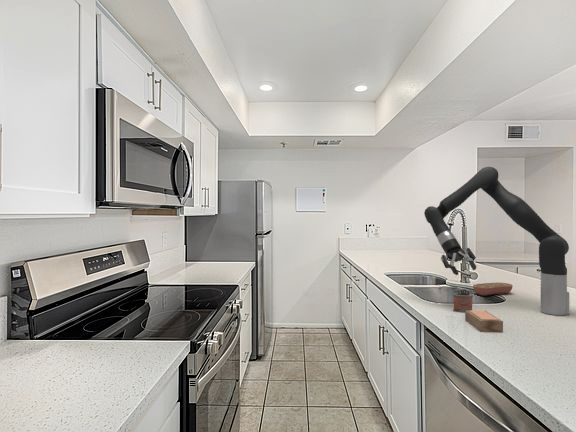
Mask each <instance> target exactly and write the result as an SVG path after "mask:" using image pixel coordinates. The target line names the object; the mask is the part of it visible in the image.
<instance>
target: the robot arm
mask: <svg viewBox="0 0 576 432" xmlns="http://www.w3.org/2000/svg"><path fill="white" fill-rule="evenodd" d="M479 189H481V190H482V191H484V192H485V193H486V194H487V195H488V196H489V197H490V198H492V199H493V201H495V203H497V205H498V206H499V207H500V208H501V209H502V210H503V211H504V212H505V214H506V215H507V216H508V217H509V218H510V219H511V220H512V221H513V222H514V223H515V224H517V226H519V227H520V228H522V229H523V230H525V231H527V233H530V234H531V235H532V236H533V237H534V238H535V239H536V241H537V242H538V243H539V245H538V260H539V261H538V263H539V268H540V312H541V313H544V314H545V315H546V314H547V315H552V316H567V315H570V292H569V291H568V269H567V266H566V254H568V252H569V249H570V246H569V243H568V242H567V240H566V239H565V238H563V237H562V236H561V235H560V234H559V233H557V232H556V231H555V230H553V229H552V228H551V227H550V226H549V225H548V224H547V223H546V222H545V221H544V219H542V218H541V217H540V215H538V213H537V212H536V211H535V210H534V209H533V207H531V206H530V205H529V204H528V203H527V202H526V201H525V200H524V199H523V198H521V197H519V196H517V194H514V193H513V192H510V191H509V190H508V189H506V188H505V187H504V185H503V184H502V183H501V182H500V180H499V171H498V169H496V168H495V167H493V166H484V167H482V168H481V169H479V171H478V172H477V173H475V174H474V175H473V176H472V177H471V178H470V179H469V180H468V181H467V182H466V183H464V184H463V185H462V186H460V187H459V188H458V189H456V190H455V191H454V192H452V193H450V194H449V195H447V196H446V197H444V198H443V199H442V200H441V201H440V202H439V205H438V206H437V207H436V206H433V205H432V206H431V205H430V206H428V207H426V208H425V210H424V213H423V214H424V217H425V220H426V222H427V223H428V224H430V226H431V228H432V231H433V233H434V236H436V238H437V241H438V243H439V244H440V246H441V249H442V250H443V252H444V253H445V254H442V255H441V257H440V260H441V262H442V264H443V266H444V267H445V269H451V272H452V274H453V275H455V276H458V275H459V273H460V272H458V270H457V267H456V266H455V263H457V262H462V261H463V262H467V263H468V265H469V266H470V268H471V269H472V270H473V271H475V270H476V269H477V265H476V263H475V262H474V261H475V260H476V259H477V257H476V256H475V254H474V252H473V251H472V250H471V249H470V247H467V248H466V249H463V248H462V246H461V245H460V242H459V241H458V240H457V237H456V236H455V234H453V232H452V231H451V229H450V228H449V226H448V225H447V223H446V221H445V218H446V217H447V216H448V215H449V214H450V212H452V211H454V210H456V209H457V208H458V207H459V206H461V205H462V204H464V203H465V202H466V200H468V199H469V198H470V197H471V196H472V195H473V194H474V193H475V192H477V191H478V190H479ZM447 259H448V260H450V262H448V260H447Z"/></svg>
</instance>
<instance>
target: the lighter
mask: <svg viewBox="0 0 576 432" xmlns="http://www.w3.org/2000/svg"><path fill="white" fill-rule="evenodd" d="M454 292H455V293H453V295H452V296H453V308H452V310H453V312H455V313H465V310H473V294H471V292H470V289H465V288H455V289H454Z"/></svg>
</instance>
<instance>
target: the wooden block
mask: <svg viewBox="0 0 576 432" xmlns="http://www.w3.org/2000/svg"><path fill="white" fill-rule="evenodd" d="M464 317H465V318H464V320H465V321H466V322H467V323H469V324H470V326H472V327H474V328H475V329H476V330H478V331H479V332H484V333H485V332H486V333H489V332H490V333H504V320H502V319H500V318H498V316H497V317H496V316H495V315H494V314H492V313H491V312H488V311H487V310H482V309H481V310H480V309H479V310H477V309H476V310H474V309H472V310H465V312H464Z"/></svg>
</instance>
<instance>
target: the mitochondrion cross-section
mask: <svg viewBox="0 0 576 432" xmlns="http://www.w3.org/2000/svg"><path fill="white" fill-rule="evenodd" d="M513 287H514V285H513V284H512V283H508V282H507V283H506V282H484V283H476V284H473V285H472V288H473V291H474V293H476V294H477V295H478V296H483V297H486V296H490V295H491V296H492V295H502V294H504V295H505V293H506V294H509V293H510V292H511V291H512V289H513Z"/></svg>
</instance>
